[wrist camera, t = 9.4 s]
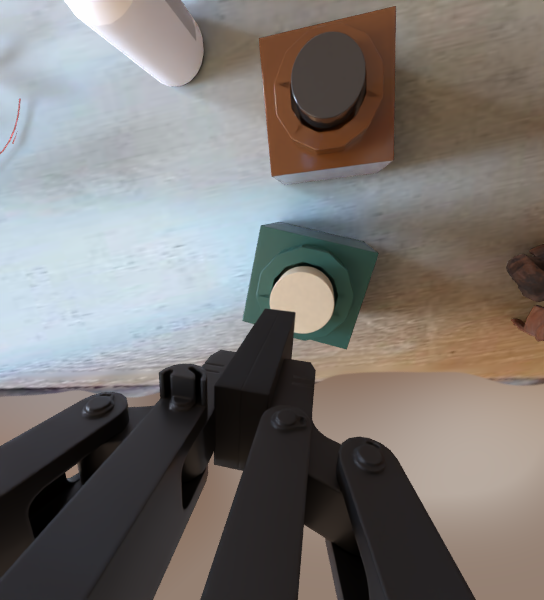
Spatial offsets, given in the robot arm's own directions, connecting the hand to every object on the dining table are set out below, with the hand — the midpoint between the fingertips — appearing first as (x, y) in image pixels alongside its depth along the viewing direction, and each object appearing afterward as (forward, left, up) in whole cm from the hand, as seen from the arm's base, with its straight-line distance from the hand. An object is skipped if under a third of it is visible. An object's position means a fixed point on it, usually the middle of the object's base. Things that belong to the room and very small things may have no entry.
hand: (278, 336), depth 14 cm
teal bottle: (-1, +1, -22) cm, 22 cm away
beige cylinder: (-1, +1, -10) cm, 10 cm away
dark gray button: (-1, -14, -12) cm, 19 cm away
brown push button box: (-1, -14, -22) cm, 26 cm away
